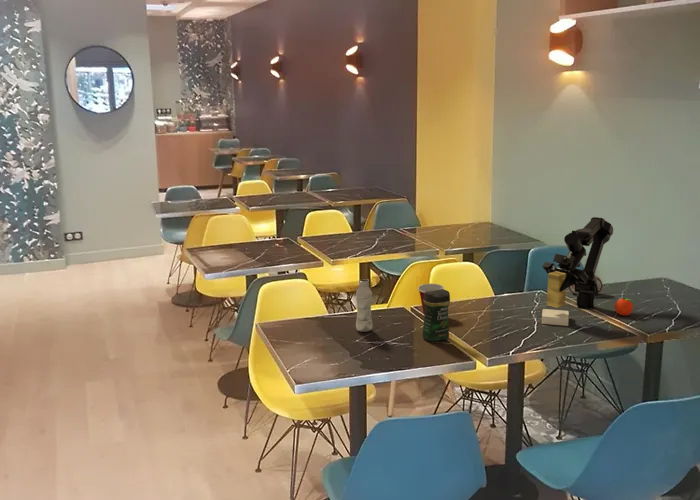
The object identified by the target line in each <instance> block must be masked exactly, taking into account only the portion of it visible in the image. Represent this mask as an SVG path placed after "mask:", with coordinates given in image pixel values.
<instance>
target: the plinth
mask: <svg viewBox="0 0 700 500" xmlns="http://www.w3.org/2000/svg"><path fill="white" fill-rule="evenodd" d="M569 313H570V312H569V310H560V309H551V308H550V309H547V308H543V309H542V313H541V324H542V325H543V324H544V325H553V326H554V325H555V326H566V327H569Z"/></svg>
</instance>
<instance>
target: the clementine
mask: <svg viewBox="0 0 700 500" xmlns="http://www.w3.org/2000/svg"><path fill="white" fill-rule="evenodd" d="M632 302H633V303H635V301H634V300H632V299H630V298H619V299H618V300H617V301H616V302H615V304H614V309H615V311H616V313H617V314H618V315H619V316H629V315H630V314H631V313H632V312H633V310H634V304H633V303H632Z"/></svg>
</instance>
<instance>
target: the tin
mask: <svg viewBox="0 0 700 500" xmlns="http://www.w3.org/2000/svg"><path fill="white" fill-rule="evenodd" d="M596 279H597V284H598V287H599V291H598V294H599V293H601V291H602V289H603V282H602V280H601V278H600V277H599V276H596ZM567 289H568V290H569V291H570V293H572V294H574V295H577V294H578V293H579V292H575V287H574V285H572V286H570V287H568V288H567Z"/></svg>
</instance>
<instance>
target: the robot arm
mask: <svg viewBox="0 0 700 500" xmlns="http://www.w3.org/2000/svg"><path fill="white" fill-rule="evenodd" d="M613 234H614V227H613V226H612V224H611V223H610V222H608V221H607V220H606V219H605V218H603V217H596V216H593V217H591V218H590V221H588V222H587V223H586V225H585V226H583V228H579V229H578V228H577V229H576V230H571V232H569V233H567V234H566V235H565V236H564V238H563V239H564V243H565V245H566V247H567V250H568V252H567V254H564V255H563V254H559V253H555V254H554V256H553V260H552V262H549V261H544V263H543V264H542V268H543V270H544V272H545V273H546V274H547V275H548V273H552V272H555V271H558V272H562V273H566V274H567V275H566V279H565V281H564V282H563V284H562V286H561V287H560V290H559V291H560V292H562V291H563V290H565V289H566V290H567V289H568V287H570V286H572V285H574V287H575V292H579V293H578V294H576V306H577V308H578V309H589V310H590V309H591V310H593V309H594V308H595V306H594V303H595V295H597V296H598V295H599V293H598V291H599V287H598V284H597V279H596V277H597V276H596V271H597V268H598V264H599V261H600V258H601V255H602V251H603V248H604V245H605V244H606V243H608V242H610V239H611V237H612V236H613ZM585 247H590V248H589V252H588V255H587V250H586V248H585ZM586 256H587V259H586V262H585V265H584V268H583V269H580V267H581V264H580V263H581V262H582V260H583V258H584V257H586ZM555 263H556V264H557V267H556V265H555Z"/></svg>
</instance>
